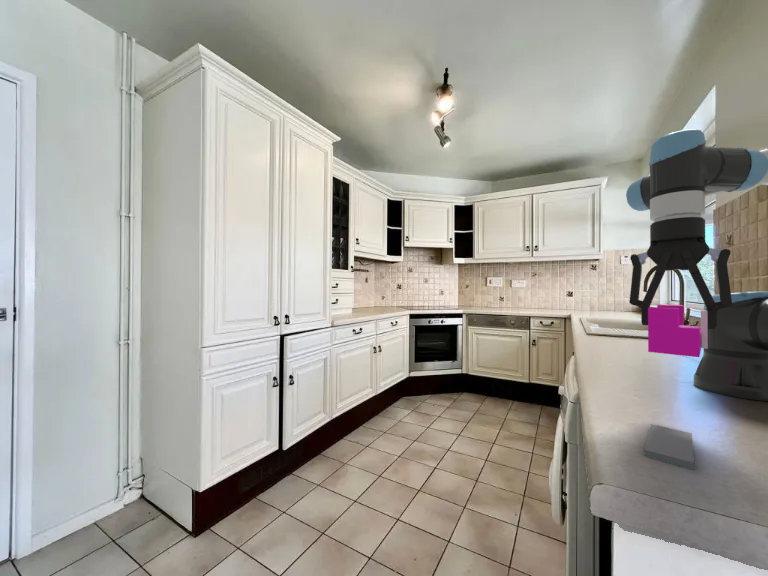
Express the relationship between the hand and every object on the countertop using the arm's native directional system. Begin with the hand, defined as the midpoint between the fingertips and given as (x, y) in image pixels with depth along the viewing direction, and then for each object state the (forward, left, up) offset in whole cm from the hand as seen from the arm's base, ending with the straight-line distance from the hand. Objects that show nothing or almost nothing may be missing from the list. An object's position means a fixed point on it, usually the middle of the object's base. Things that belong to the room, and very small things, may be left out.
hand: (677, 344), depth 60 cm
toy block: (+1, +1, -1) cm, 2 cm away
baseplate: (+13, +10, -13) cm, 21 cm away
